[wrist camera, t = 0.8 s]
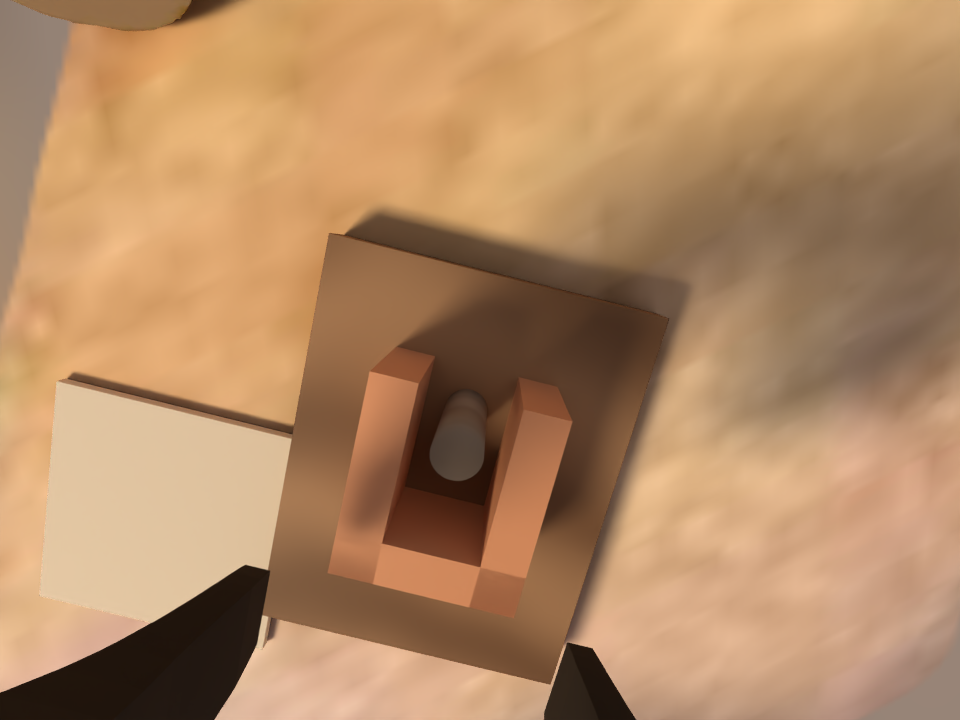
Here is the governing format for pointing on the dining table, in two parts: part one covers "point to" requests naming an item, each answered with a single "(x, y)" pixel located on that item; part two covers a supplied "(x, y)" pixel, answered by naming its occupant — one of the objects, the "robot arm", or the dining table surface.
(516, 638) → the stand
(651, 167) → the dining table surface
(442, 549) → the c link
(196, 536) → the felt mat
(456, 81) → the dining table surface
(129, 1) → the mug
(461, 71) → the dining table surface
